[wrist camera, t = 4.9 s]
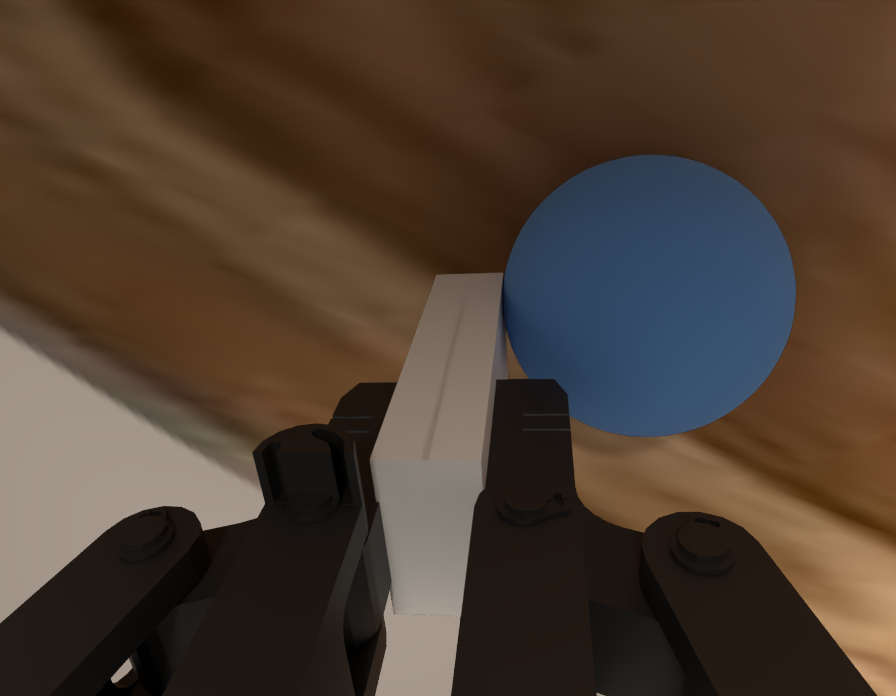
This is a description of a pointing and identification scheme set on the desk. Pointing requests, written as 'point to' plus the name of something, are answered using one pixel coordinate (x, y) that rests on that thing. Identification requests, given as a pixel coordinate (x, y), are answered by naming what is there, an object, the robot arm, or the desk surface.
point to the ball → (650, 294)
